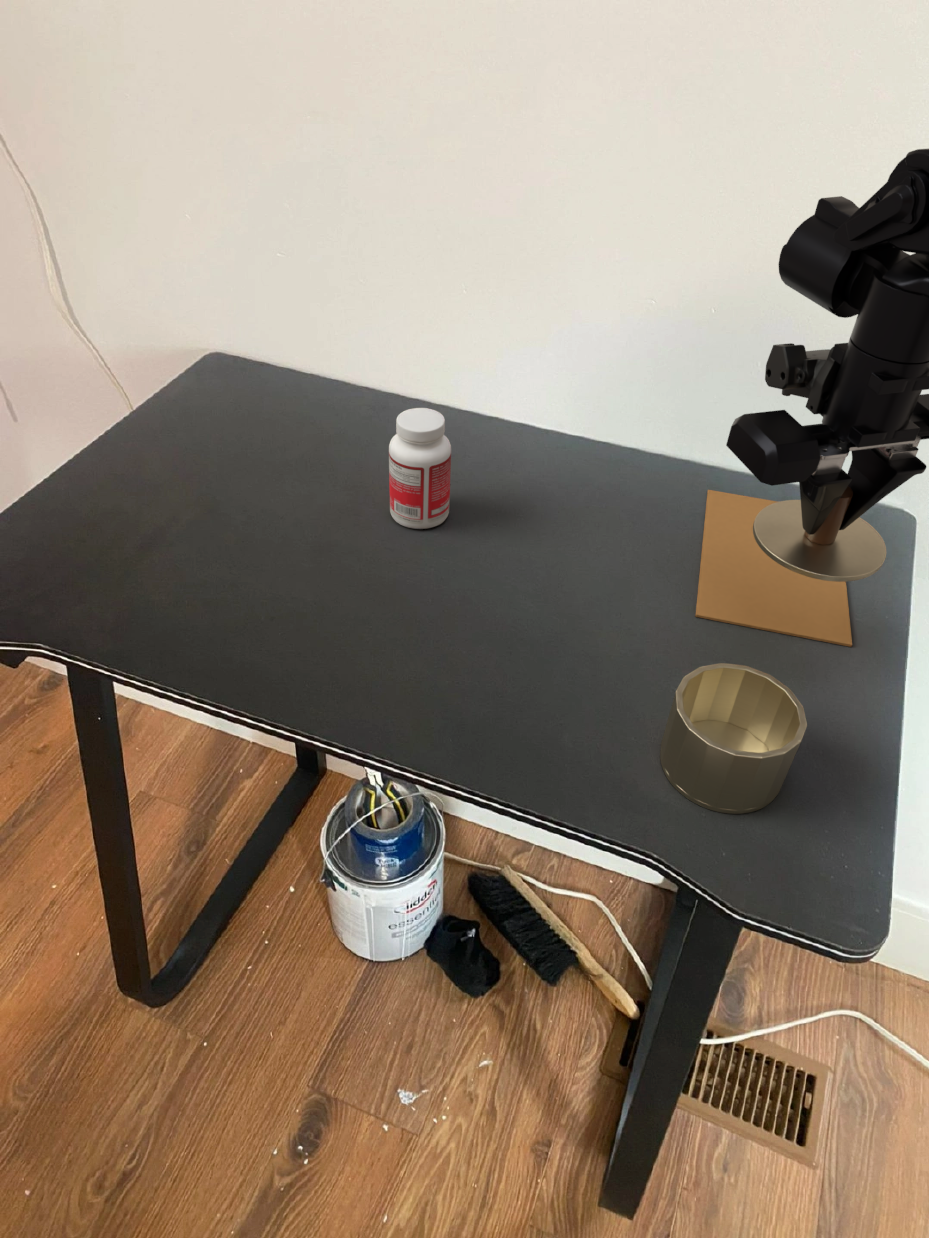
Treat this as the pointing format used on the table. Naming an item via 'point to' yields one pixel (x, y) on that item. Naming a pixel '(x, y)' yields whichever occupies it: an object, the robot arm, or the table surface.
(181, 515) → the table surface
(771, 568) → the mat
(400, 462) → the pill bottle
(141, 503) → the table surface
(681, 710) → the pot
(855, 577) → the lid
